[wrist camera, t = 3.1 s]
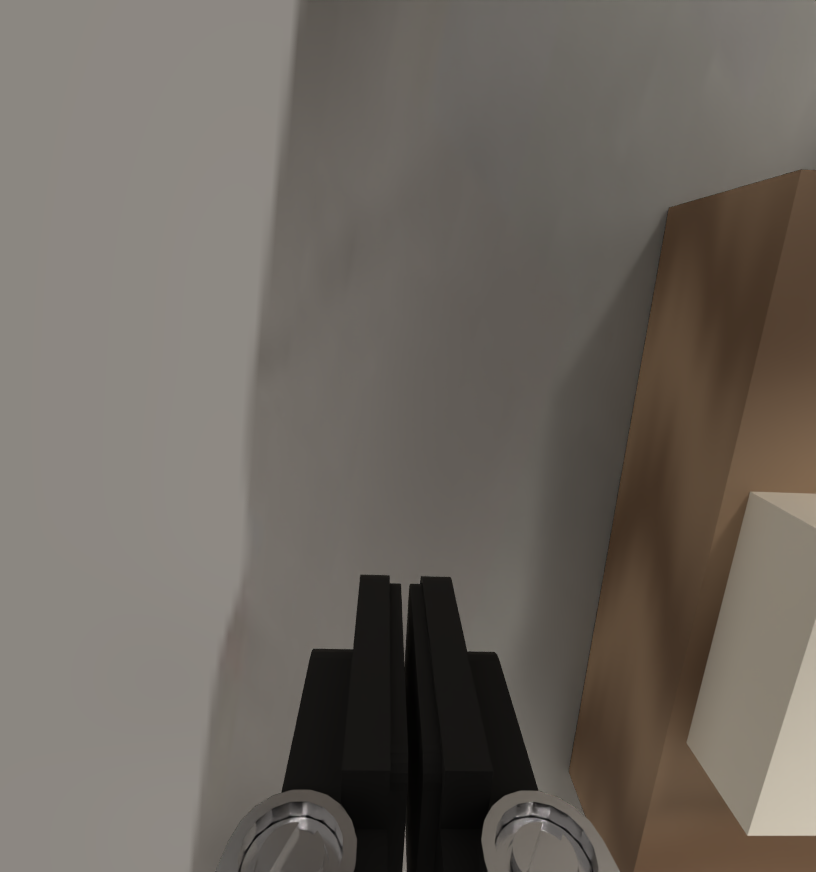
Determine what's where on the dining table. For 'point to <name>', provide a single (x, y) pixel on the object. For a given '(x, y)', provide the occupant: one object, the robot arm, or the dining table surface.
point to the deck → (697, 518)
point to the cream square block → (765, 673)
